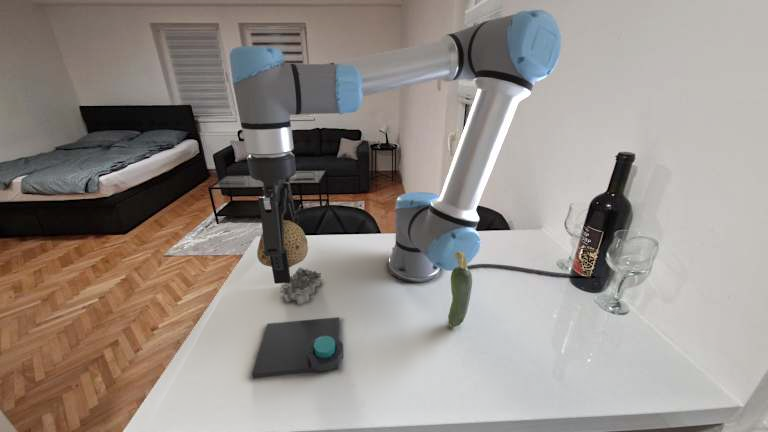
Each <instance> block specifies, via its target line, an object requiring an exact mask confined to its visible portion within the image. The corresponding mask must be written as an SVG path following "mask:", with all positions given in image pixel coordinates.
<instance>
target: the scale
mask: <svg viewBox="0 0 768 432" xmlns="http://www.w3.org/2000/svg"><path fill="white" fill-rule="evenodd" d="M323 336H329V337H332V338H333V339H334V341H335V353H334V354H333V355H332V356H331V357H329V358H326V359H320V358H318V357H317V356H316V355H315V350H314V343H315V341H316V340H317V339H319V338H320V337H323ZM343 359H344V344H343V342H342V341H341V340H340V317H338V316H337V317H328V318H317V319H316V318H315V319H306V320H305V319H304V320H303V319H302V320H294V321H293V320H292V321H283V322H281V321H280V322H270V323H269V322H268V323H267V325H266V328H265V330H264V334H263V336H262V341H261V343H260V346H259V350H258V353H257V356H256V360H255V364H254V366H253V369H252V373H251V375H252V379H261V378H270V377H278V376H279V377H280V376H287V375H288V376H289V375H298V374H306V373H307V374H308V373H314V372H317V373H318V372H326V371H334V370H335V371H336V370H339V369H340V367H339V366H340V364H341V362H342V360H343Z"/></svg>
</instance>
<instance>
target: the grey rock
mask: <svg viewBox="0 0 768 432" xmlns="http://www.w3.org/2000/svg"><path fill="white" fill-rule="evenodd" d="M321 277H322V273H321V272H316V270H311V269H307V268H306V269H304V268H303V267H298V268H297V269H296V271H295V272H294V273H293V274H292V275H290V278H291V281H290V283H282V284H281V285H280V289H279V294H282V295H283V298H284V301H285V302H288V303H290V302H291V301H296V302H297V305H302V304H304V303H307V302H308V301H309V300H310V296H309V295H311V294H312V295H313V294H314V293H315V290H316V289H315V287H319V286H320V285H321V282H320V280H321ZM295 288H298V289H295ZM293 289H295V292H294V291H293Z"/></svg>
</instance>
